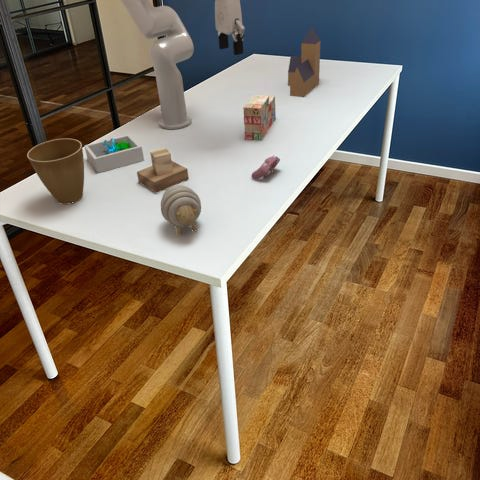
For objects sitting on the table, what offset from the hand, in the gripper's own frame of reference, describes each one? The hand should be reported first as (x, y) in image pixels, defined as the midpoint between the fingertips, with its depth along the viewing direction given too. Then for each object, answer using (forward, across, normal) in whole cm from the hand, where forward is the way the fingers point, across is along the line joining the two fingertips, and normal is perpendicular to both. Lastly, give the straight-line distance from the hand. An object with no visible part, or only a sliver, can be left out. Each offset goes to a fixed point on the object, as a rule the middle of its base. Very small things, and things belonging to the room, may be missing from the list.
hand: (231, 51), depth 157 cm
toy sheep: (+31, +41, -39) cm, 64 cm away
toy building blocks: (+31, -32, +49) cm, 66 cm away
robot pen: (+30, -10, -42) cm, 53 cm away
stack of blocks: (+31, -3, +12) cm, 33 cm away
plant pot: (+31, +8, -62) cm, 70 cm away
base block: (+31, +14, -34) cm, 48 cm away
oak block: (+27, +14, -34) cm, 45 cm away
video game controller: (+31, +29, -6) cm, 43 cm away
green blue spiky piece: (+31, -13, -41) cm, 53 cm away
